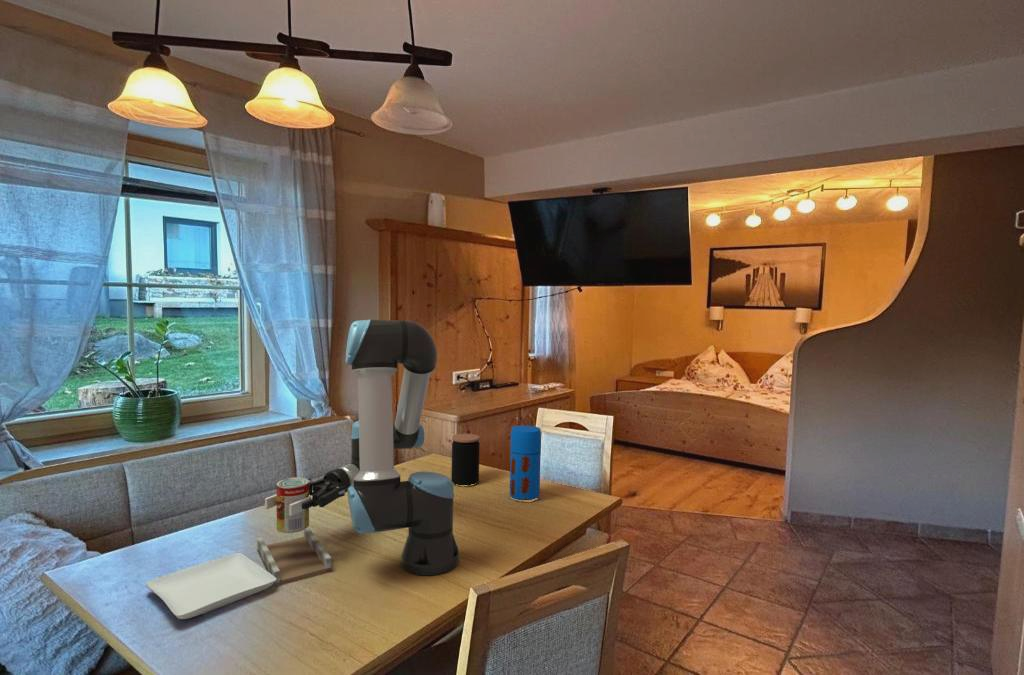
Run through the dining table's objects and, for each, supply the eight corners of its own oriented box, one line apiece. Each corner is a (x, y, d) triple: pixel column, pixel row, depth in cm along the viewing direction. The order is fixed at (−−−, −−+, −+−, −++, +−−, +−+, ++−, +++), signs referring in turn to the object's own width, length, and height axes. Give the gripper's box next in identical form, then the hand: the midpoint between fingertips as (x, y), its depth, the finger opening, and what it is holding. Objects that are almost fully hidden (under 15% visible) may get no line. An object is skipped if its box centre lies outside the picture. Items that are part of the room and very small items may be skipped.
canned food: (303, 518, 144) (303, 475, 143) (313, 528, 138) (313, 483, 137) (272, 525, 139) (272, 481, 138) (281, 536, 133) (281, 489, 132)
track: (331, 571, 133) (331, 557, 133) (274, 586, 125) (274, 572, 125) (308, 539, 151) (308, 527, 151) (257, 550, 143) (257, 538, 143)
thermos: (539, 503, 183) (541, 432, 182) (509, 502, 183) (510, 431, 182) (538, 492, 194) (540, 425, 193) (509, 491, 194) (511, 425, 193)
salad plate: (239, 562, 137) (238, 549, 137) (278, 591, 124) (278, 577, 124) (143, 595, 121) (143, 581, 121) (177, 633, 107) (177, 616, 107)
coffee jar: (480, 479, 208) (481, 434, 207) (476, 488, 197) (477, 440, 196) (454, 477, 209) (455, 433, 208) (448, 486, 198) (449, 439, 197)
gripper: (369, 499, 150) (308, 529, 129) (314, 487, 159) (249, 513, 138) (369, 473, 150) (308, 500, 129) (315, 462, 158) (249, 485, 137)
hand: (278, 507), depth 133 cm, fingers closed on canned food, 8 cm apart
